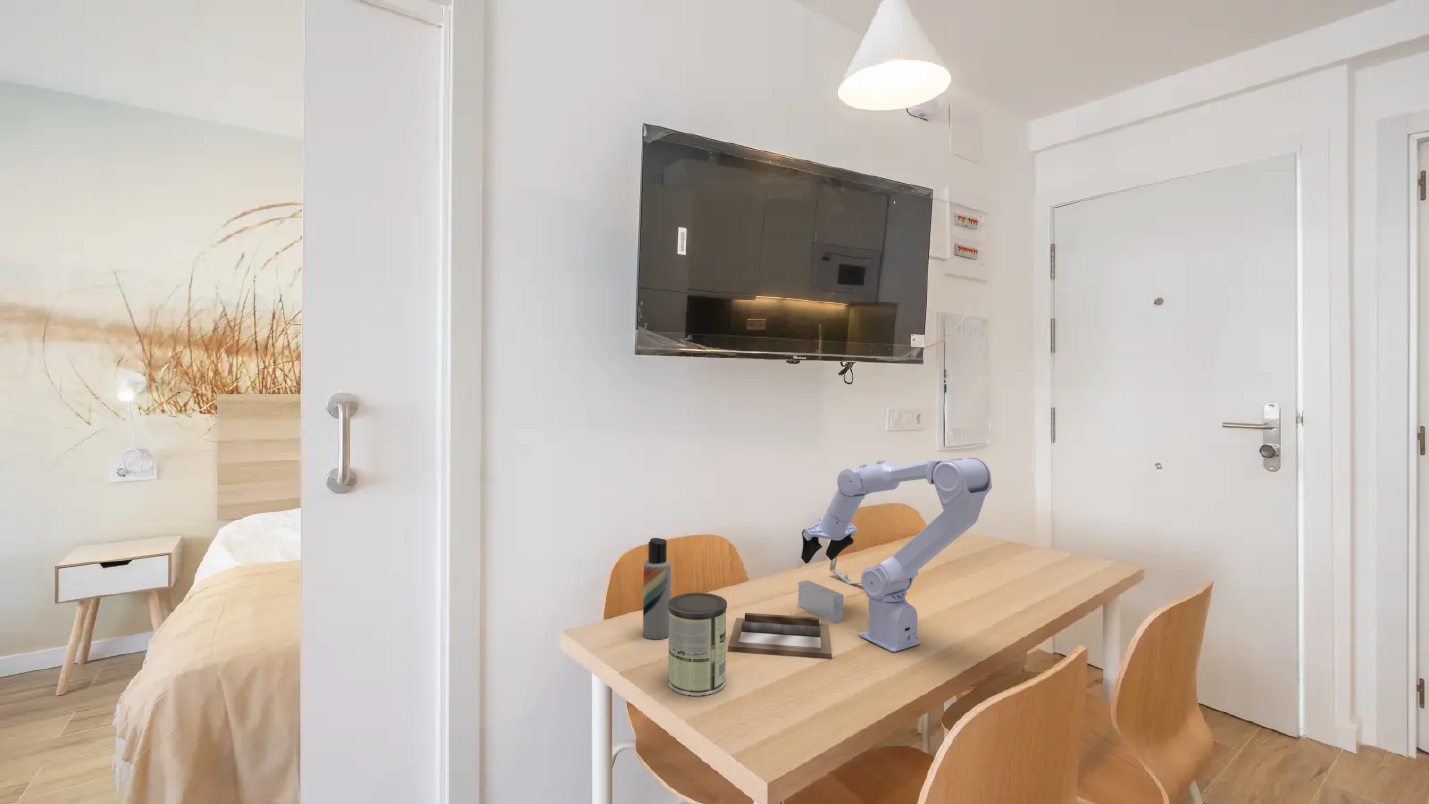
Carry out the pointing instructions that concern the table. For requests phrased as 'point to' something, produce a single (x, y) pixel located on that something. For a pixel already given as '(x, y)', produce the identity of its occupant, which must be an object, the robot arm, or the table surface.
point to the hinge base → (781, 636)
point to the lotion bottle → (656, 590)
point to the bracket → (839, 574)
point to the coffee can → (697, 643)
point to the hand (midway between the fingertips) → (816, 558)
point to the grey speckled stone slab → (820, 601)
